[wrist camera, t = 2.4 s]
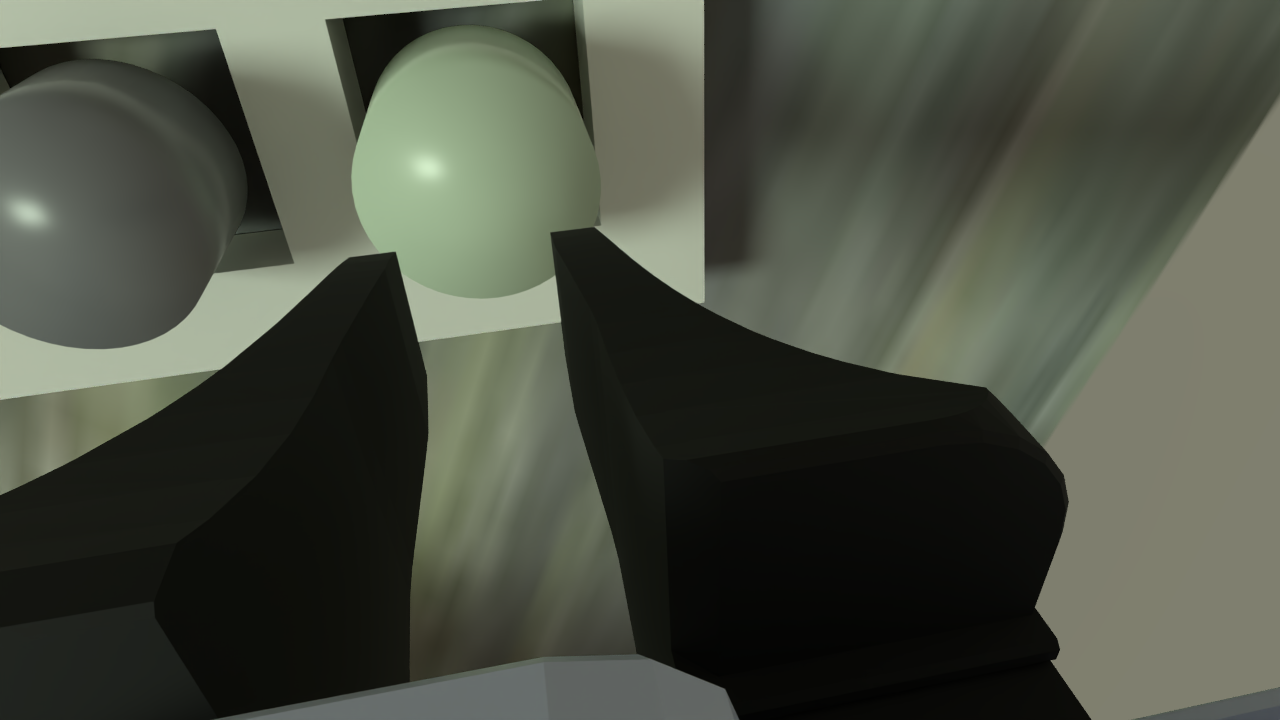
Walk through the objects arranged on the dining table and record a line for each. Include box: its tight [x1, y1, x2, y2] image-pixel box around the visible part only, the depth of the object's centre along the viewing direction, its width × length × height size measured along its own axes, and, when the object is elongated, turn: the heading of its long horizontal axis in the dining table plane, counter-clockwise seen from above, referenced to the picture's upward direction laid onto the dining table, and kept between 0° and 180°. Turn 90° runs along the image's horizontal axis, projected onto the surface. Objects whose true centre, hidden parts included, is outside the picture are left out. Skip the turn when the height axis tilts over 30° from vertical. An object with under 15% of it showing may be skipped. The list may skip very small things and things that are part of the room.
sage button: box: [351, 25, 601, 299], centre depth 16 cm, size 4×4×3 cm
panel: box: [0, 0, 704, 400], centre depth 17 cm, size 10×24×2 cm, turn 93°
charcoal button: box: [0, 59, 248, 349], centre depth 15 cm, size 4×4×3 cm
